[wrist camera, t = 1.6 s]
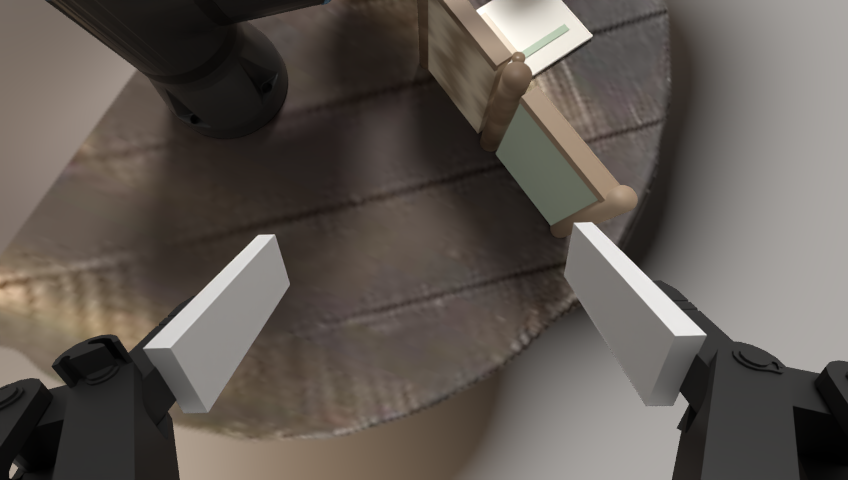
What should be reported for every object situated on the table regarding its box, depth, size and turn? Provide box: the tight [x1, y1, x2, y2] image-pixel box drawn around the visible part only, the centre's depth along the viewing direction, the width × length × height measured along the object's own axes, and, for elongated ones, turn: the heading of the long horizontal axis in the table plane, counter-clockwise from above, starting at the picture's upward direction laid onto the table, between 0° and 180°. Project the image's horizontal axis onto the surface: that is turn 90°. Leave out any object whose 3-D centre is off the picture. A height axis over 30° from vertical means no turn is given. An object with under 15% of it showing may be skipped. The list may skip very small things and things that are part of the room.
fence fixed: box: [417, 0, 532, 152], centre depth 36 cm, size 16×3×14 cm, turn 35°
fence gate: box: [496, 86, 637, 238], centre depth 33 cm, size 13×2×13 cm, turn 35°
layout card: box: [476, 0, 592, 77], centre depth 43 cm, size 12×14×1 cm
